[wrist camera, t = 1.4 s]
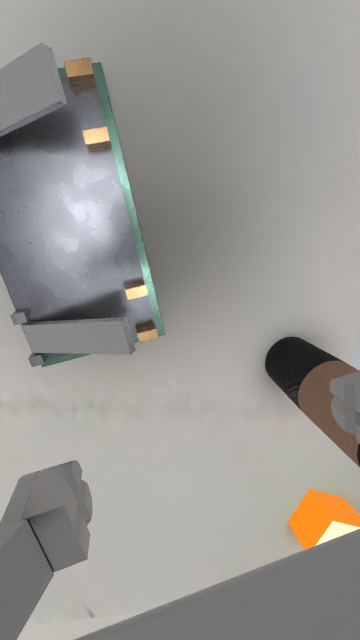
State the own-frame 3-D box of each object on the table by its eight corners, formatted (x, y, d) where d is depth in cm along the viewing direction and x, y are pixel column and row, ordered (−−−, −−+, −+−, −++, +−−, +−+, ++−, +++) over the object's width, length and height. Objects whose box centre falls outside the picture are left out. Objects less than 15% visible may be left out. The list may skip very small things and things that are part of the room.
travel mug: (303, 384, 44) (438, 497, 26) (257, 382, 43) (366, 502, 24) (317, 336, 42) (474, 422, 24) (270, 332, 41) (399, 421, 22)
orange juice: (309, 488, 51) (419, 637, 33) (345, 498, 54) (465, 641, 35) (287, 522, 53) (379, 683, 34) (323, 530, 56) (427, 684, 37)
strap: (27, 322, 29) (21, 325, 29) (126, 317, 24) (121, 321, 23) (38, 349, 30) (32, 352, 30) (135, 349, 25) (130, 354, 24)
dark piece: (-64, 91, 27) (-124, 47, 20) (101, 67, 28) (95, 19, 22) (44, 363, 36) (27, 393, 29) (163, 332, 38) (173, 353, 31)
